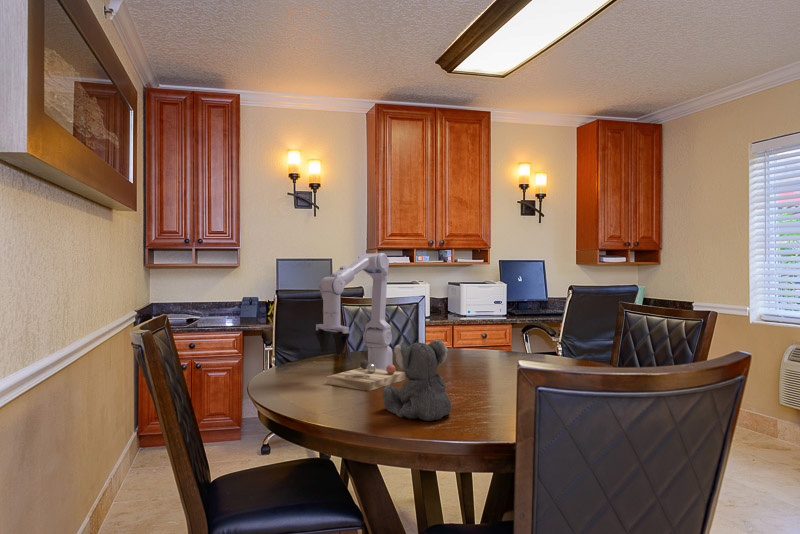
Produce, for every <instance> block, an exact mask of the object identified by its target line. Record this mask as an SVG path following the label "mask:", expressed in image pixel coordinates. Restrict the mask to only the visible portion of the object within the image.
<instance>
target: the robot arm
mask: <svg viewBox="0 0 800 534" xmlns="http://www.w3.org/2000/svg"><path fill="white" fill-rule="evenodd" d="M389 263H390V259H389V258H388V256H387V254H385V252H380V253H379V252H378V253H377V252H376V253H375V252H374V253H366V252H363V253H361V254H359V255H358V257H357V259H356V260H355V261H353V263H351V264H350V265H349V266H340V267H339V269H338V270H337V271H335V272H332V273H331V275H329V276H325V277H323V278H322V279H321V280H320V282H319V285H318V289H319V291H320V293H321V298H322V300H323V301H322V303H323V305H322V306H323V307H322V315H323V316H322V317H323V318H322V319H323V320H322V321H323V323H318V324H315V332H314V334H315V337H316V338H317V340H318V344H319V346H320V347H319V348H320V349H321V353H328V352H329V343H330V337H331V334H332V336H333V338H334V343H335V353H336V355H337V356H340V355H343V354H344V351H345V347H346V343H347V340H348V338H349V337H350V327H349V326H345V325H341V323H342V322H341V318H342V317H341V313H342V312H341V294H342V293H343V292H344V291H345V287H346V286H348V284H349V283H351V282H353V281H354V279H355V275H357V274H358V273H360V272H362V271H363V272H365V273H366V274H367V275H369V276H370V277H371V278H372V291H371V292H372V293H371V294H372V295H371V312H370V320H369V321H368V322H367V323H366V324H365V325H364V326H365V329H364V332H363V336H362V337H363V339H362V340H363V342H364V343H365V344H366V347H367V361H368V362H369V364H374V365H375V366H376V368H377V369H385V370H386V368H387V366H388V365H390V364H392V365H393V350H392V347H390V344H391V343H392V340H393V335H392V325H390V324H389V323H388V322H387V321H386V307H387V305H386V304H387V285H388V284H387V283H388V275H389V266H390V265H389Z"/></svg>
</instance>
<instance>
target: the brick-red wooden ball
mask: <svg viewBox="0 0 800 534" xmlns="http://www.w3.org/2000/svg"><path fill="white" fill-rule="evenodd" d="M386 371H387V373H389V374H393V373H394V372H395V371H397V370H396V366H395V365H394V364H393V363H392V364H390V365H388V366H387V368H386Z"/></svg>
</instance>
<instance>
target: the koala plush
mask: <svg viewBox="0 0 800 534" xmlns="http://www.w3.org/2000/svg"><path fill="white" fill-rule="evenodd" d="M393 350H394V354H395V362H396V364H397V365H398V366H399V368H400V369H401V370H403V372H405V378H407V380H406V381H405V382H404V383H403V385H401V387H400V390H399V389H398V388H397V387H396V386H394V385H387V386H384V388H383V389H382V399H383V405H384V408H385V410H386V411H388V412H389V413H391V414H394V415H396V416H397V417H399V418H407V419H409V420H414V419H420V420H422V421H426V422H431V421H438V420H441V419H442V418H443V417H446V416H448V415H449V414H450V413H451V411H452V402H451V400H450V397H449V395H448V393H447V392H446V384H445V381H444V378H443V377H442V376H441V375H440V374H438V373H437V372H438V368H439V367H441V365H443V363H445V362H446V360H447V359H448V352H450V350H449V349H448V347H447V344H445V342H444V341H443V340H441V339H440V338H437V339H434V340H432V341H430V343H428V344H426V343H425V342H414V343H412V344H410V345H408V346H407V345H406V344H403V343H402V344H396V345H395V346H394V349H393Z"/></svg>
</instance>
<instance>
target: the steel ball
mask: <svg viewBox="0 0 800 534" xmlns="http://www.w3.org/2000/svg"><path fill="white" fill-rule="evenodd" d="M375 370H376V366H375V365H374V364H369V365H368V366H367V371H368V372H369V373H374V372H375Z"/></svg>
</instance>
